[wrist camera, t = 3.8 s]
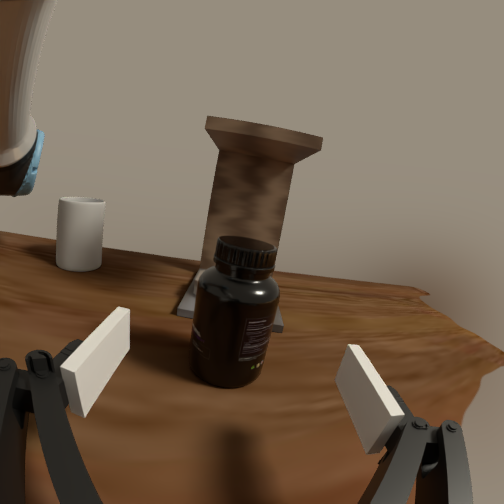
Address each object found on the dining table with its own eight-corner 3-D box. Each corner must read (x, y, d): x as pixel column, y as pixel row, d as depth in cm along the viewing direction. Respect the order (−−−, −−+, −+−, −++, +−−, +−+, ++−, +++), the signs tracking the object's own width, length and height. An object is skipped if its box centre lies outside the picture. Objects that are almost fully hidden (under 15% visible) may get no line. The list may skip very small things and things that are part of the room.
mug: (94, 274, 40) (98, 204, 37) (48, 267, 37) (50, 199, 35) (110, 255, 51) (115, 198, 49) (72, 250, 48) (75, 194, 46)
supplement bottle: (172, 361, 24) (185, 232, 22) (221, 341, 30) (240, 231, 27) (229, 401, 20) (257, 257, 18) (274, 370, 26) (304, 250, 23)
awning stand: (176, 315, 33) (207, 115, 29) (200, 271, 53) (221, 143, 48) (281, 332, 34) (323, 137, 29) (269, 283, 53) (294, 156, 48)
